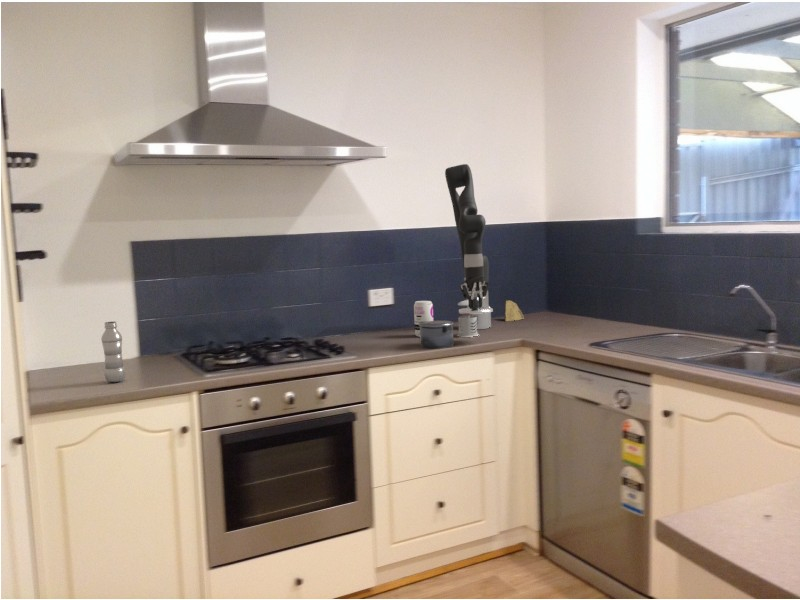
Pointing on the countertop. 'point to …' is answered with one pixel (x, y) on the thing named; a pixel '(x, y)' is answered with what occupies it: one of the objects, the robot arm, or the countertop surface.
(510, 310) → the yellow wedge
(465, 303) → the french press
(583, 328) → the countertop surface
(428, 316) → the supplement can
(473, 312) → the lid
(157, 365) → the countertop surface
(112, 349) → the plastic bottle
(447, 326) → the pot
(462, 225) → the robot arm
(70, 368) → the countertop surface
